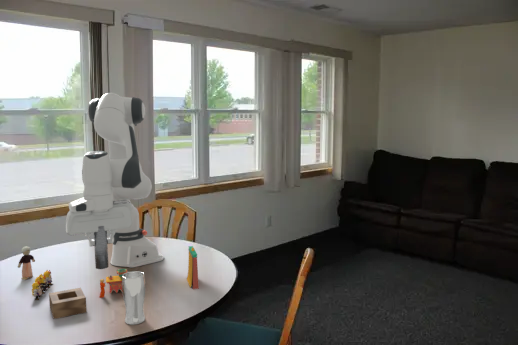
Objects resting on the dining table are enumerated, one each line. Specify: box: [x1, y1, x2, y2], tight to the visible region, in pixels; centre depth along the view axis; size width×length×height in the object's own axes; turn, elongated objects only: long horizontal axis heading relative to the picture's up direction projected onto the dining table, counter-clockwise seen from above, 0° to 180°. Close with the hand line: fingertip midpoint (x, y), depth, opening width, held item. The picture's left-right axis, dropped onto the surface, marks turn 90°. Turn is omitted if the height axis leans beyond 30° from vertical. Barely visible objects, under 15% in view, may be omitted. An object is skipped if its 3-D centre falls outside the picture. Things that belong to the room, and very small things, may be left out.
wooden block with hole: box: [48, 287, 88, 320], centre depth 155 cm, size 10×10×5 cm
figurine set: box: [31, 269, 54, 301], centre depth 170 cm, size 3×16×7 cm, turn 6°
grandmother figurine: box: [17, 246, 36, 281], centre depth 184 cm, size 8×4×13 cm, turn 168°
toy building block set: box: [98, 245, 200, 299], centre depth 174 cm, size 12×35×14 cm, turn 107°
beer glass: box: [121, 270, 146, 326], centre depth 146 cm, size 7×7×15 cm
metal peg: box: [93, 226, 109, 270], centre depth 151 cm, size 4×4×14 cm
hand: (100, 244), depth 151 cm, fingers closed on metal peg, 4 cm apart
